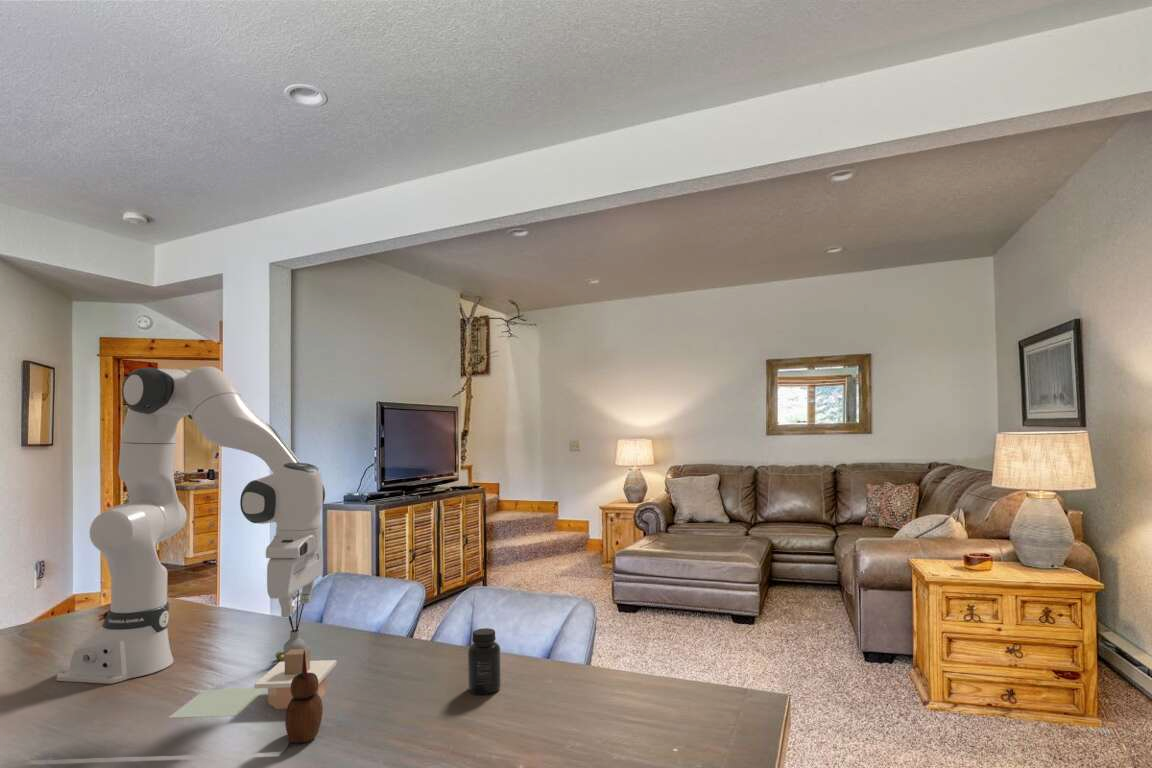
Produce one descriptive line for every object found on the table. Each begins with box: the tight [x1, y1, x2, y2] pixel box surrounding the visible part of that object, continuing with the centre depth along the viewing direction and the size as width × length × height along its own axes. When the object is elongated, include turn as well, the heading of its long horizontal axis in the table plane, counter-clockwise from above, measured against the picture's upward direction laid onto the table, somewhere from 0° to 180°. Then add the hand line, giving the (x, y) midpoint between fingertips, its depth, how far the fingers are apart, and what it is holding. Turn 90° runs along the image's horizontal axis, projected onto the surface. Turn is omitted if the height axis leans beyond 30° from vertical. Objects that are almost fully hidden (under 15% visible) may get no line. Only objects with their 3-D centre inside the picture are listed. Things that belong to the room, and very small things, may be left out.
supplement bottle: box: [467, 628, 502, 696], centre depth 137 cm, size 7×7×12 cm
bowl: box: [267, 675, 327, 710], centre depth 132 cm, size 10×10×5 cm
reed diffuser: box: [275, 590, 306, 662], centre depth 153 cm, size 10×7×20 cm
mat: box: [168, 687, 267, 719], centre depth 131 cm, size 13×13×1 cm
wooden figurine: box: [284, 650, 324, 744], centre depth 117 cm, size 7×6×15 cm
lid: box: [253, 648, 338, 689], centre depth 133 cm, size 12×12×5 cm
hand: (296, 609), depth 133 cm, fingers open, 8 cm apart
